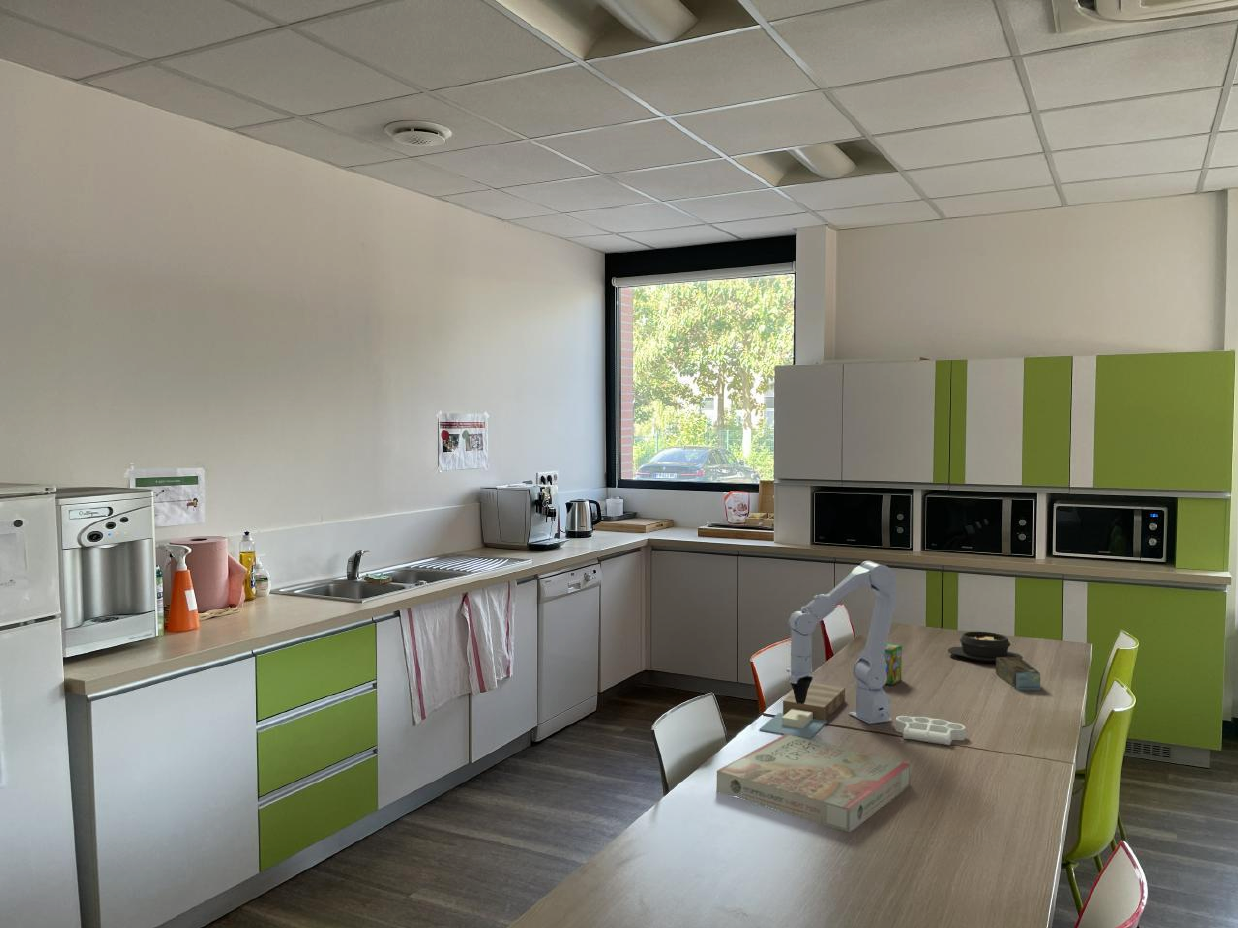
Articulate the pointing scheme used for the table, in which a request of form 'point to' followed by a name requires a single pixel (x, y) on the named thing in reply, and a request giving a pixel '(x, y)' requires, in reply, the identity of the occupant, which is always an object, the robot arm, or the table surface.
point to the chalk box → (893, 663)
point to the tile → (797, 718)
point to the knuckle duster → (929, 729)
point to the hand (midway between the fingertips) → (800, 702)
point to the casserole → (983, 647)
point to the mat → (805, 732)
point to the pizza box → (815, 781)
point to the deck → (817, 700)
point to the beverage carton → (1018, 673)
